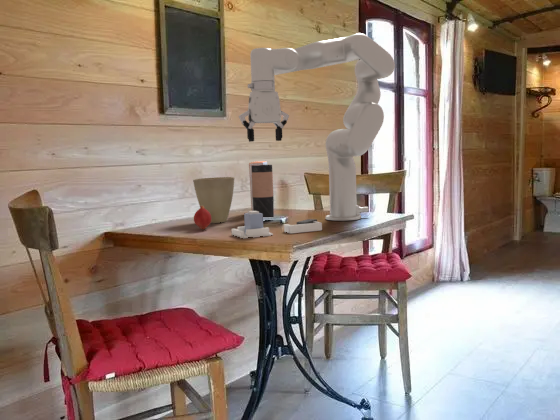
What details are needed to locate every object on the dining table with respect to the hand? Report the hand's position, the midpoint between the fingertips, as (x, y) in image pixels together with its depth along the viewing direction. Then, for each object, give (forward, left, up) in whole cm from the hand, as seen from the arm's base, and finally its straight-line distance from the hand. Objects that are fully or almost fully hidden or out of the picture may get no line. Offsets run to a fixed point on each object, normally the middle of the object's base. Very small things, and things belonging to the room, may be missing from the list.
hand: (265, 141), depth 189 cm
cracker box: (-13, -38, -28) cm, 49 cm away
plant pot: (+10, -25, -28) cm, 39 cm away
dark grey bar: (-8, +13, -29) cm, 32 cm away
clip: (-5, +16, -28) cm, 33 cm away
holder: (+11, +14, -28) cm, 33 cm away
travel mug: (-6, -18, -28) cm, 34 cm away
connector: (+11, +14, -28) cm, 33 cm away
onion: (+20, -8, -28) cm, 36 cm away
